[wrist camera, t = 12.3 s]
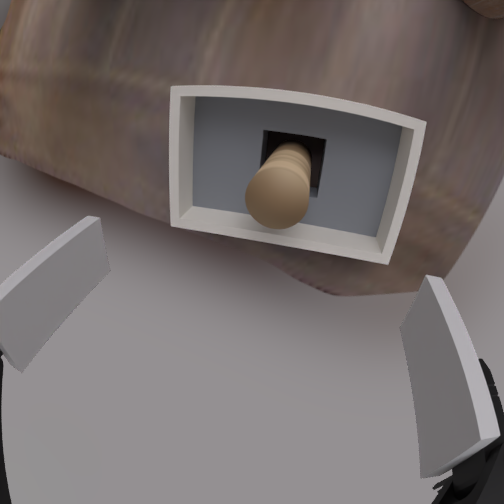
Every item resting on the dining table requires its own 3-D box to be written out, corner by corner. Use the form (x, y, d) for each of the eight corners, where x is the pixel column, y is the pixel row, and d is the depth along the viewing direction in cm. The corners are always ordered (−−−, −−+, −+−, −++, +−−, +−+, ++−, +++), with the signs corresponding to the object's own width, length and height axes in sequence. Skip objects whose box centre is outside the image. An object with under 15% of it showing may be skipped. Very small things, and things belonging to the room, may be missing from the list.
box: (195, 202, 35) (170, 226, 29) (199, 87, 27) (170, 86, 21) (376, 233, 32) (388, 264, 26) (403, 116, 24) (426, 122, 18)
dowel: (276, 136, 29) (247, 164, 17) (313, 142, 28) (313, 174, 16) (272, 171, 31) (242, 223, 19) (308, 177, 30) (303, 234, 18)
